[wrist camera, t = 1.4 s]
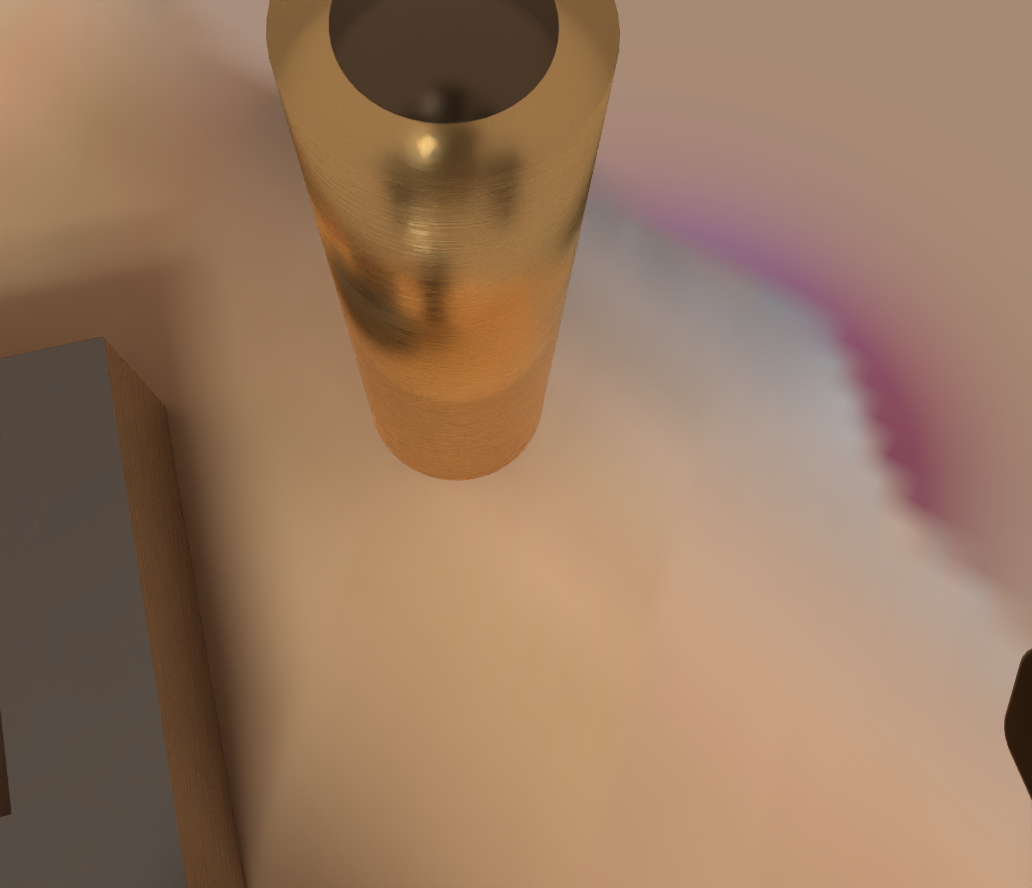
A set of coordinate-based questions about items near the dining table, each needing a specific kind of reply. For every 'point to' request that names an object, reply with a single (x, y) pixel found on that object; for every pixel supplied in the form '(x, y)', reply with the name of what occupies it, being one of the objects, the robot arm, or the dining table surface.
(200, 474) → the dining table surface
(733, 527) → the dining table surface
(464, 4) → the bushing
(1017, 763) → the robot arm
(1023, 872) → the dining table surface
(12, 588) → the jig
